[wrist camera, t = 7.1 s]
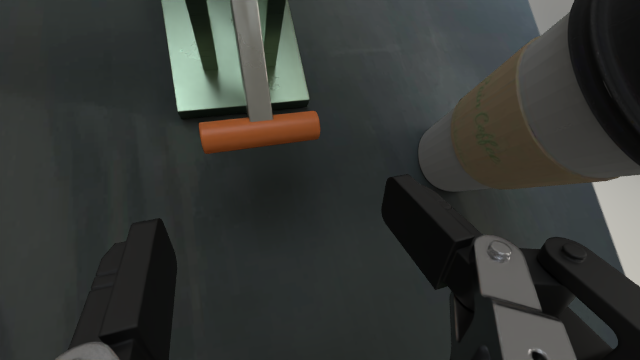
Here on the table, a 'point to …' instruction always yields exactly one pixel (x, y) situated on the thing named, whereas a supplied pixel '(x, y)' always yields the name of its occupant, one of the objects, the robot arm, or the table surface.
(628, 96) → the coffee cup
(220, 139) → the lever
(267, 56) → the bracket
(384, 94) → the table surface
